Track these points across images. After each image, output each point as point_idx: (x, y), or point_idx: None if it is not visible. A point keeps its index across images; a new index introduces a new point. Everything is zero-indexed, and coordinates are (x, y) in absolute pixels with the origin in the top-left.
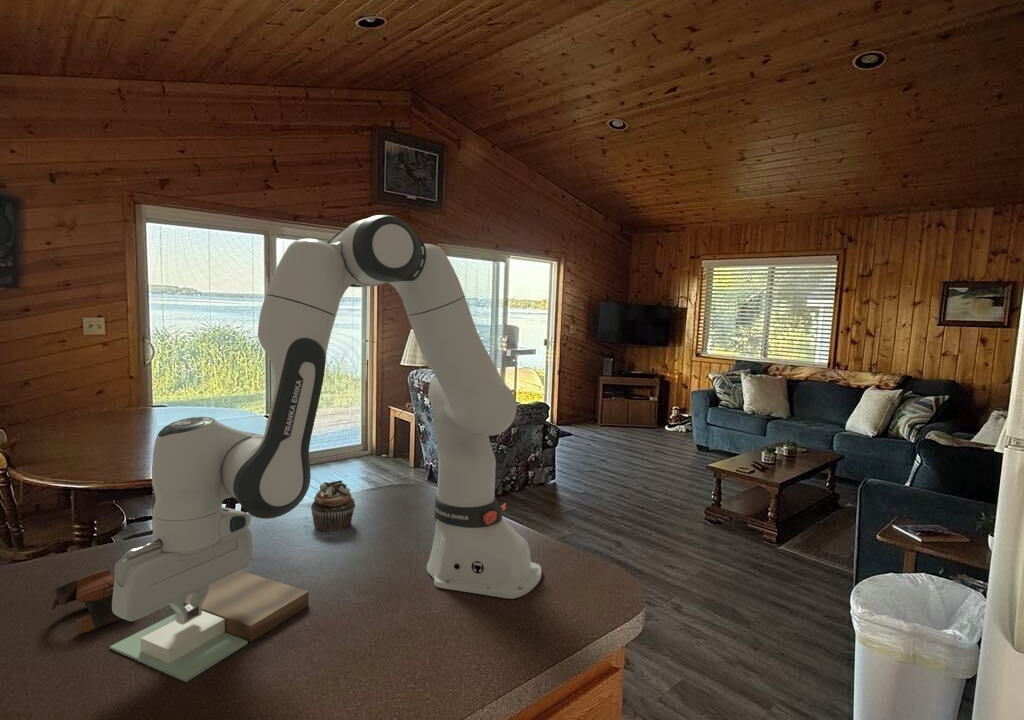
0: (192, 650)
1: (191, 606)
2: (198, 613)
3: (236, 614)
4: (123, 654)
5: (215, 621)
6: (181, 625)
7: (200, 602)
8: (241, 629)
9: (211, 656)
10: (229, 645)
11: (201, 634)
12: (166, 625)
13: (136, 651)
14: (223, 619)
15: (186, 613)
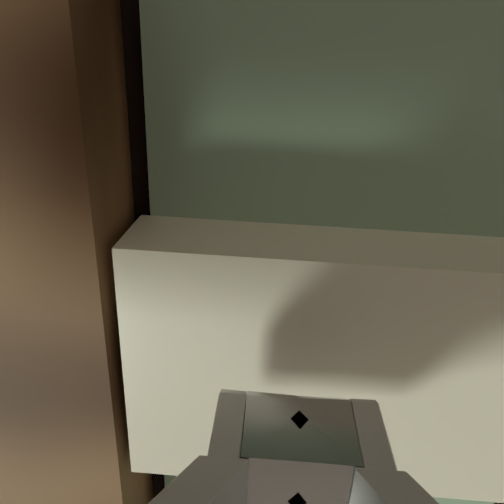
0: (378, 225)
1: (268, 499)
2: (248, 405)
3: (23, 213)
4: None
5: (169, 281)
6: None
7: (220, 480)
8: (99, 68)
9: (393, 55)
10: (242, 46)
11: (314, 253)
12: None
13: None
14: (120, 251)
15: (367, 459)
